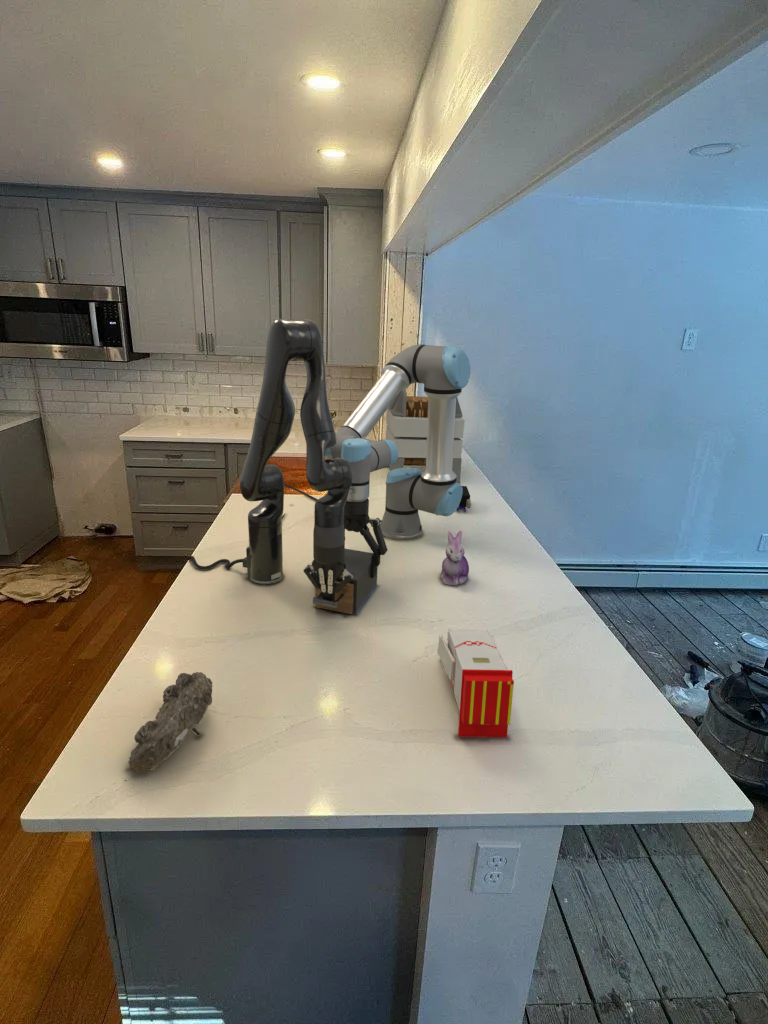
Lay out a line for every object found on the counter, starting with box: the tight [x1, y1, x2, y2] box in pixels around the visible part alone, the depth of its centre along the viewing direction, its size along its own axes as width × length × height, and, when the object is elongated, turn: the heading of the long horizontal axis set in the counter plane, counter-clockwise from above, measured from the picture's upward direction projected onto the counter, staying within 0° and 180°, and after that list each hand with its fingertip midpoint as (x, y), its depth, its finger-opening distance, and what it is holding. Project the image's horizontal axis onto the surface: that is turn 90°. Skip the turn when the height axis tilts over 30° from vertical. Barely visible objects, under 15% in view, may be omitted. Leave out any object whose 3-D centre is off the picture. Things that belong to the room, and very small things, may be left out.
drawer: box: [312, 580, 354, 615], centre depth 149 cm, size 22×10×8 cm, turn 163°
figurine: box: [440, 530, 470, 586], centre depth 165 cm, size 9×10×15 cm
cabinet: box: [337, 548, 379, 616], centre depth 154 cm, size 18×11×10 cm, turn 163°
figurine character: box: [456, 485, 472, 513], centre depth 228 cm, size 7×8×15 cm
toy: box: [437, 628, 515, 738], centre depth 117 cm, size 12×13×30 cm
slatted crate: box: [384, 389, 465, 484], centre depth 268 cm, size 34×33×41 cm
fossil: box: [128, 671, 213, 773], centre depth 102 cm, size 22×10×15 cm
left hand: (328, 604), depth 142 cm, fingers closed
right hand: (352, 572), depth 157 cm, fingers closed on cabinet, 11 cm apart
